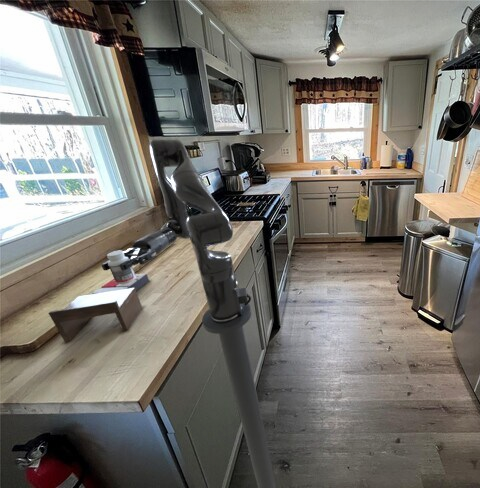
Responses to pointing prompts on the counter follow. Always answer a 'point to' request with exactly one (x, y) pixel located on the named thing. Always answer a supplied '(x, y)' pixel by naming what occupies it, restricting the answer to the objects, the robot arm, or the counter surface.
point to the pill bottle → (118, 274)
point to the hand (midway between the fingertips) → (112, 267)
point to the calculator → (113, 286)
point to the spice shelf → (97, 310)
